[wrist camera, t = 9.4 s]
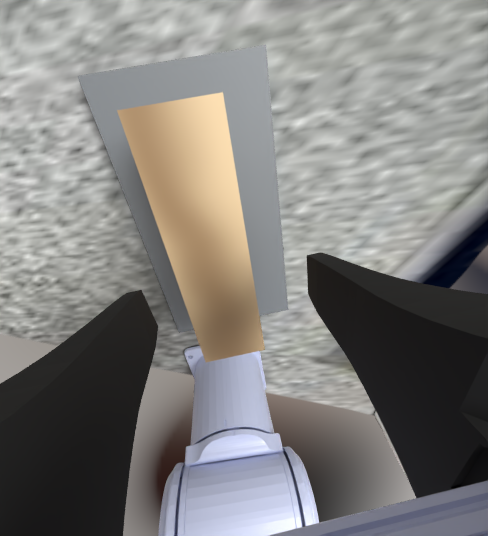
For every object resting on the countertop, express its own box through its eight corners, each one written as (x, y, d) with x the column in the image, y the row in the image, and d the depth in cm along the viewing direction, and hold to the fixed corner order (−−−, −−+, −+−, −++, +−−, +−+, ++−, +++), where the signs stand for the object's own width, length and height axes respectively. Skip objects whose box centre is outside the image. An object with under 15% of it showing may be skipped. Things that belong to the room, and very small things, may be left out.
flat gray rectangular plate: (285, 303, 24) (294, 323, 21) (180, 325, 24) (176, 348, 21) (262, 50, 15) (274, 29, 12) (85, 80, 14) (57, 65, 12)
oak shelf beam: (218, 109, 13) (222, 92, 9) (252, 304, 20) (264, 349, 16) (148, 122, 13) (116, 110, 9) (206, 314, 20) (205, 362, 15)
